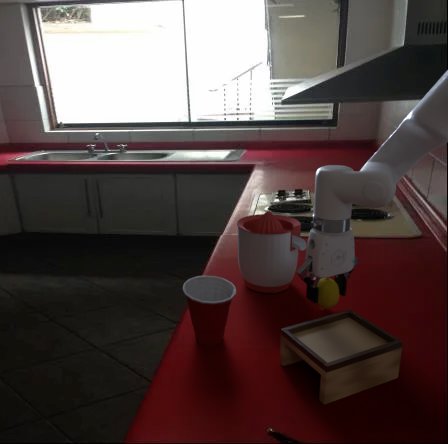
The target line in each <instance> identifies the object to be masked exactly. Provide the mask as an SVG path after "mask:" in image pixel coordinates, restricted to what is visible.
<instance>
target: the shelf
mask: <svg viewBox="0 0 448 444" xmlns="http://www.w3.org/2000/svg"><path fill="white" fill-rule="evenodd" d="M403 344H404V341H403V340H401V339H400V338H397V337H396V336H394V335H393V334H391V333H390V332H388V331H386V330H384V329H383V328H382V327H380V326H378V325H376V324H375V323H373V322H371V321H370V320H368V319H366V318H364V317H363V316H361V315H360V314H358V313H356V312H354V311H353V310H352V309H346V310H343V311H339V312H335V313H332V314H329V315H325V316H322V317H318V318H315V319H310V320H307V321H304V322H299V323H297V324H293V325H290V326H286V327H283V328H280V343H279V345H280V347H279V364H280V365H281V366H283V367H286V366H289V365H292V364H296V363H298V362H303V361H304V362H306V363H307V364H308V365H309V366H310V367H311V368H313V369H314V370H315V371H316V372H317V373H318V374H320V384H319V397H318V400H319V402H320V403H322V404H323V405H328V404H330V403H332V402H335V401H338V400H342V399H344V398H346V397H349V396H352V395H355V394H358V393H360V392H363V391H366V390H368V389H372V388H374V387H377V386H380V385H382V384H386V383H388V382H390V381H393V380H396V379H398V378H399V373H400V367H401V358H402V352H403V346H404V345H403Z"/></svg>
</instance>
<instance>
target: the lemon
mask: <svg viewBox="0 0 448 444" xmlns="http://www.w3.org/2000/svg"><path fill="white" fill-rule="evenodd" d="M317 287H318V288H319V294H318V303H316V305H317V306H318V307H319V308H322V309H323V310H328V309H331V308H333V307H335V306H336V305H337V304H338V303H339V299H340V294H339V288H338V285H337V283H336V282H335V281H334V280H333V279H332V278H330V277H326V278H320V280H319V282H318V284H317Z"/></svg>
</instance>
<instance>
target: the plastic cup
mask: <svg viewBox="0 0 448 444" xmlns="http://www.w3.org/2000/svg"><path fill="white" fill-rule="evenodd" d="M182 291H183V293H184V296H185V299H186V302H187V305H188V311H189V315H190V320H191V325H192V327H193V332H194V336H195V339H196V341H198V342H199V343H200V344H202V345H206V346H207V345H208V346H213V345H217V344H219V343H221V342H222V341H223V339H224V337H225V330H226V327H227V322H228V317H229V312H230V307H231V304H232V301H233V298H234V297H235V296H236V294H237V287H236V286H235V285H234V284H233V282H231V281H229V280H228V279H226V278H223V277H220V276H216V275H197V276H193V277H191V278H188V279H187V280H186V281H185V282H184V283H183V285H182Z"/></svg>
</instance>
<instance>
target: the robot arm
mask: <svg viewBox="0 0 448 444" xmlns="http://www.w3.org/2000/svg"><path fill="white" fill-rule="evenodd" d="M446 144H448V69H447V70H446V71H445V72H444V73H443V75H442V76H440V78H439V79H438V80H437V81H436V83H434V85H433V86H432V87H431V88H430V89H429V91H428V92H427V93H426V94H425V95H424V96H423V98H422V99H421V100H420V101H419V102H418V103H417V104H416V105H415V106H414V107H413V108H412V110H411V111H410V112H409V113H408V114H406V116H405V117H404V118H403V120H401V123H400V124H399V125H398V127H397V128H396V129H395V130H394V132H393V133H391V135H390V136H389V137H388V138H387V139H386V140H385V141H384V142H383V144H381V146H380V147H379V148H378V149H377V150H376V152H374V154H373V155H372V156H370V158H369V159H368V160H367V161H366V163H364V165H363V166H362V167H361V169H360V170H358V171H357V170H356V171H355V170H354V169H353V168H352V167H350V166H347V165H339V164H331V165H330V164H328V165H324V166H321V167H319V168H317V170H316V172H315V176H314V177H315V178H314V179H315V181H314V195H313V214H312V221H310V222H309V227H310V228H311V229H310V230H309V234H308V237H307V238H308V239H307V242H306V249H305V257H304V258H305V259H304V263H302V264H301V266H299V268H298V269H296V271H295V274H296V275H297V276H298V277H299V278H300V280H302V282H303V283H304V284H306V291H305V296H306V297H305V298H306V299H307V300H308V301H310V302H311V303H312V304H316V305H317V303H318V294H319V288H318V287H317V284H318V282H319V280H320V279H322V278H326V277H328V278H330V277H334V278H333V279H334V281H335V282H336V283H337V285H338V288H339V296H341V297H345V296H347V285H348V280H350V278H351V274H352V273H353V271H354V270H355V267H356V266H357V264H358V262H359V258H357V256H356V255H355V249H356V247H355V245H356V244H355V234H354V230H353V228H352V227H351V221H352V212H353V211H352V210H353V205H356V206H359V207H360V206H361V207H365V208H372V209H374V208H375V209H376V208H377V209H378V208H382V207H385V206H387V205H388V204H390V203H391V202H392V201H393V199H394V198H395V196H396V194H397V184H398V183H399V182H400V181H401V180H402V179H403V178H404V177H405V176H406V174H407V173H409V171H410V170H411V169H412V168H413V167H414V166H416V164H417V163H419V162H420V161H421V160H422V159H423V158H424V157H426V156H427V155H428V154H430V153H431V152H433V151H434V150H436V149H438V148H439V149H440V148H442V147H443V146H444V145H446ZM313 276H314V277H313Z"/></svg>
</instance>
